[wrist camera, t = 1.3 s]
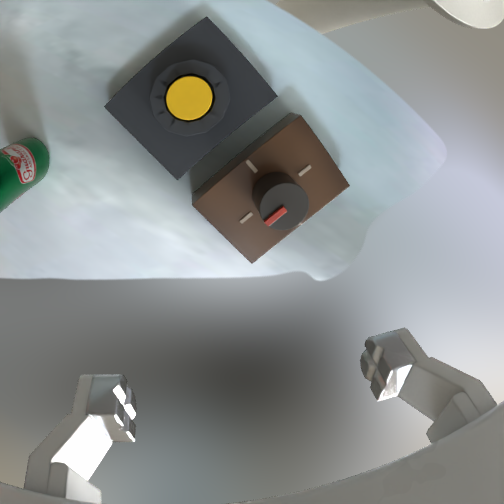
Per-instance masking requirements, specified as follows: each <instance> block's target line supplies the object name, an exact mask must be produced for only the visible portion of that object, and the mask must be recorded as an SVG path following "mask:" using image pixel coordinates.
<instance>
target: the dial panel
mask: <svg viewBox="0 0 504 504" xmlns="http://www.w3.org/2000/svg"><path fill="white" fill-rule="evenodd" d="M272 172H282V173H285V174H287V175H289V176H290V177H291V178H293V179H294V180H295V181H296V182H297V183H298V184H299V185H300V186H301V187H302V188H303V189H304V191H305V192H306V194H307V196H308V199H309V209H308V213H307V215H306V217H305V218H304V220H303V221H302V222H301V223H300V224H299V225H297V226H296V227H294V228H292V229H288V230H276V229H273V228H271V227H269V226H267V225H266V224H265V223H264V221H263V220H262V218H261V216H260V214H259V212H258V210H257V208H256V206H255V204H254V202H253V189H254V186H255V184H256V183H257V181H258V180H259V179H260V178H261V177H263V176H264V175H266V174H268V173H272ZM349 186H350V185H349V184H348V182H347V181H346V179H345V177H344V176H343V174H342V173H341V171H340V170H339V168H338V167H337V165H336V164H335V162H334V161H333V159H332V158H331V156H330V155H329V153H328V152H327V151H326V149H325V148H324V146H323V145H322V143H321V142H320V141H319V139H318V138H317V136H316V135H315V134H314V132H313V131H312V129H311V128H310V127H309V125H308V124H307V123H306V121H305V120H304V119H303V117H302V116H301V115H298V114H295V113H290V114H289V115H287V116H286V117H285V118H283V119H282V120H281V121H280V122H278V123H277V124H276V125H274V126H273V127H272V128H271V129H269V130H268V131H267V132H266V133H264V134H263V135H262V136H261V137H259V138H258V139H257V140H256V141H254V142H253V143H252V144H251V145H249V146H248V147H247V148H246V149H245V150H243V151H242V152H241V153H240V154H238V155H237V156H236V157H235V158H234V159H232V160H231V161H230V162H229V163H228V164H227V165H225V166H224V167H223V168H222V169H221V170H219V171H218V172H217V173H216V174H215V175H214V176H213V177H211V178H210V179H209V180H208V181H207V182H206V183H204V184H203V185H202V186H201V187H200V188H199V189H198V190H197V191H195V192H194V193H193V194H192V206H193V207H194V208H195V209H196V210H198V211H199V212H200V213H201V214H202V215H203V216H204V217H205V218H206V219H207V220H208V221H209V222H210V223H211V224H212V225H213V226H214V227H215V228H216V229H217V230H218V231H219V232H220V233H221V234H222V235H223V236H224V237H225V238H226V239H227V240H228V241H229V242H230V243H231V244H232V245H233V246H234V247H235V248H236V249H237V250H238V251H239V252H240V253H241V254H242V255H243V256H244V257H245V258H246V259H247V260H248V261H250V262H251V263H253V262H255V261H256V260H257V259H258V258H260V257H261V256H262V255H264V254H265V253H266V252H267V251H269V250H270V249H271V248H272V247H274V246H275V245H276V244H277V243H279V242H280V241H281V240H283V239H284V238H285V237H286V236H288V235H289V234H290V233H291V232H293V231H294V230H295V229H296V228H298V227H299V226H300V225H301V224H303V223H304V222H305V221H307V220H308V219H309V218H310V217H312V216H313V215H314V214H315V213H317V212H318V211H319V210H320V209H322V208H323V207H324V206H325V205H327V204H328V203H329V202H330V201H332V200H333V199H334V198H335V197H337V196H338V195H339V194H340V193H342V192H343V191H344V190H345V189H347V188H348V187H349Z"/></svg>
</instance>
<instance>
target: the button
mask: <svg viewBox="0 0 504 504" xmlns="http://www.w3.org/2000/svg"><path fill="white" fill-rule="evenodd" d="M166 102H167V106H168V109H169V110H170V112H171V113H172V114H173V115H174V116H176V117H178V118H180V119H183V120H193V119H197V118H199V117H201V116H202V115H204V114H205V113H206V112H207V111H208V109H209V108H210V106H211V103H212V91H211V89H210V87H209V85H208V84H207V83H206V82H205V81H204V80H202V79H200V78H198V77H194V76H187V77H183V78H180V79H178V80H177V81H175V82H174V83H173V84H172V85H171V86H170V88H169V90H168V92H167V96H166Z"/></svg>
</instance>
